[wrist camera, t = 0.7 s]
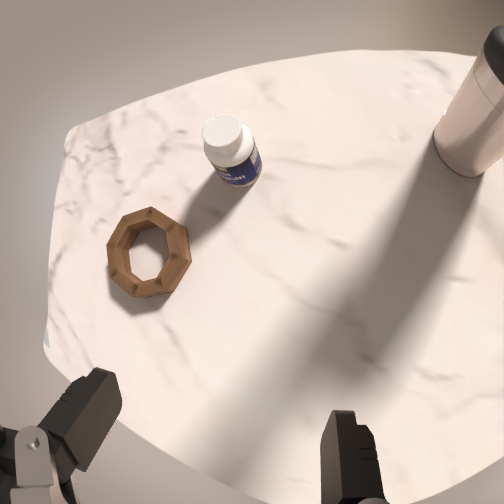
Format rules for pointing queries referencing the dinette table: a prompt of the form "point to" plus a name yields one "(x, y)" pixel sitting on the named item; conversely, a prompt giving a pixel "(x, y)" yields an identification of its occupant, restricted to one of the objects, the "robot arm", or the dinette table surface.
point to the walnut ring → (124, 240)
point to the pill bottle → (231, 150)
